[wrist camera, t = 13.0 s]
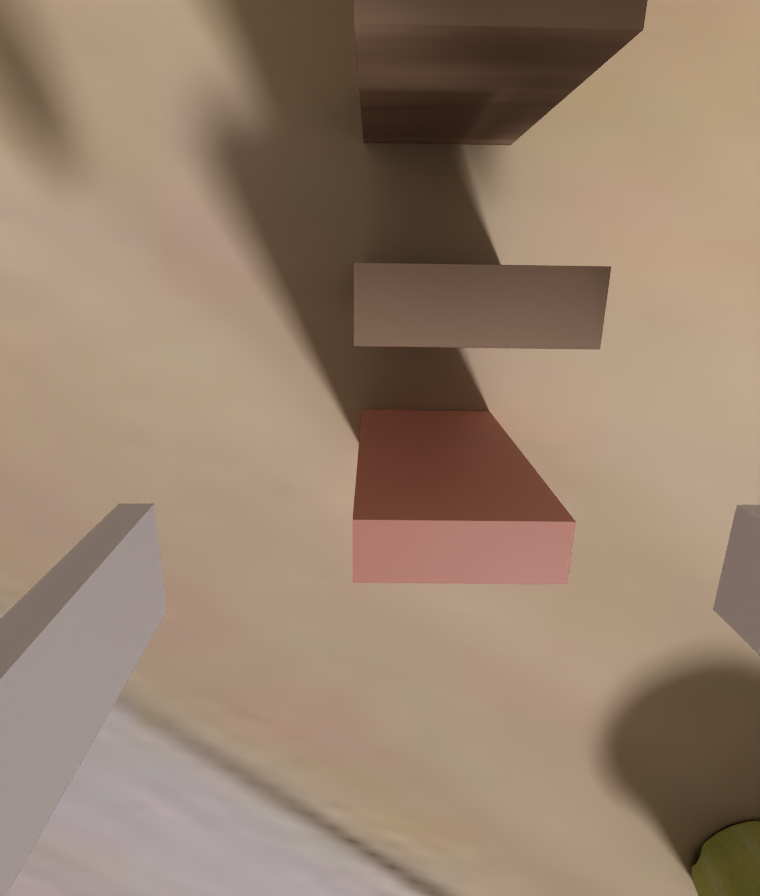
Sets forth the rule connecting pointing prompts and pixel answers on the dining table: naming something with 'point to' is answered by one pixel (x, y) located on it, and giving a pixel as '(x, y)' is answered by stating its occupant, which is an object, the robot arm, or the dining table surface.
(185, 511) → the dining table surface
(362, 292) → the domino
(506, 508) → the domino
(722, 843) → the plant pot
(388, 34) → the domino
